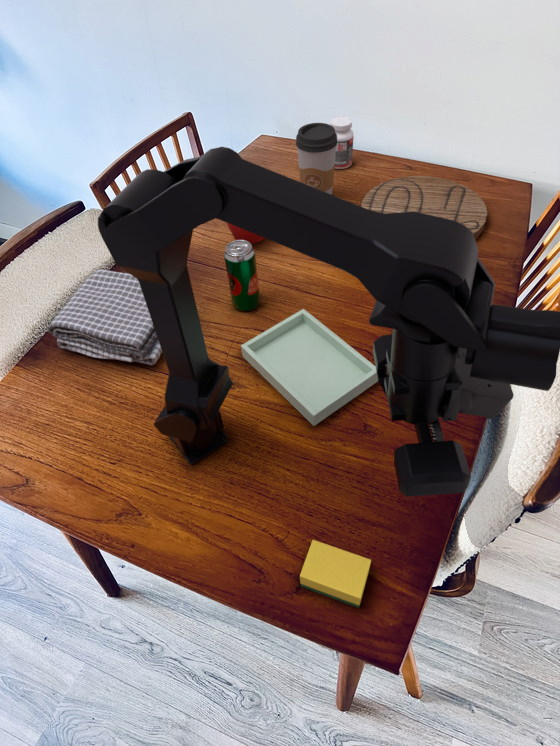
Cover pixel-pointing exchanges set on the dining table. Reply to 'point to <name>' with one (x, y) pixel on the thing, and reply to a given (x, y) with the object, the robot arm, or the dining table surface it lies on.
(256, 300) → the soda can
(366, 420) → the dining table surface
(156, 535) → the dining table surface
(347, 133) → the pill bottle
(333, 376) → the tray
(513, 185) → the dining table surface
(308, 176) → the coffee cup
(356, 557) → the sponge
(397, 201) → the trivet
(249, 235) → the apple
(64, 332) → the towel
